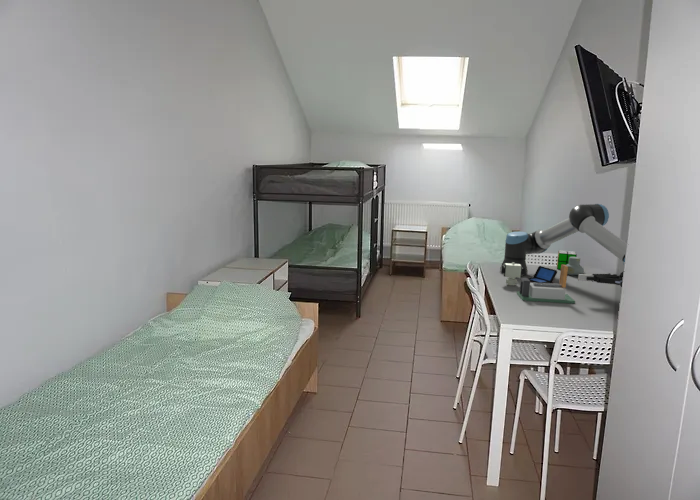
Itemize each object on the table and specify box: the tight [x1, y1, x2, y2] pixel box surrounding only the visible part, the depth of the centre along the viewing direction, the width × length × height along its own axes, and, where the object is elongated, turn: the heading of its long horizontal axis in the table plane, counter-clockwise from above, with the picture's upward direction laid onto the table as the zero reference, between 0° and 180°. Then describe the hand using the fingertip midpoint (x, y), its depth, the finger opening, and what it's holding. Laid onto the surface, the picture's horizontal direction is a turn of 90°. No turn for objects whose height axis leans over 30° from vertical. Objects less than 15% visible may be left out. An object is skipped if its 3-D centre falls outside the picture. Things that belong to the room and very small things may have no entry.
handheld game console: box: [527, 265, 558, 283], centre depth 292 cm, size 12×11×7 cm
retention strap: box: [532, 264, 568, 289], centre depth 257 cm, size 14×5×10 cm, turn 85°
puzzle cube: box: [556, 249, 578, 270], centre depth 329 cm, size 10×10×10 cm
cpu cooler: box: [516, 277, 576, 304], centre depth 259 cm, size 24×12×9 cm, turn 85°
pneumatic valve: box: [499, 262, 525, 287], centre depth 283 cm, size 6×12×12 cm, turn 81°
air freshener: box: [566, 256, 585, 277], centre depth 313 cm, size 11×8×10 cm
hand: (578, 277), depth 256 cm, fingers closed
